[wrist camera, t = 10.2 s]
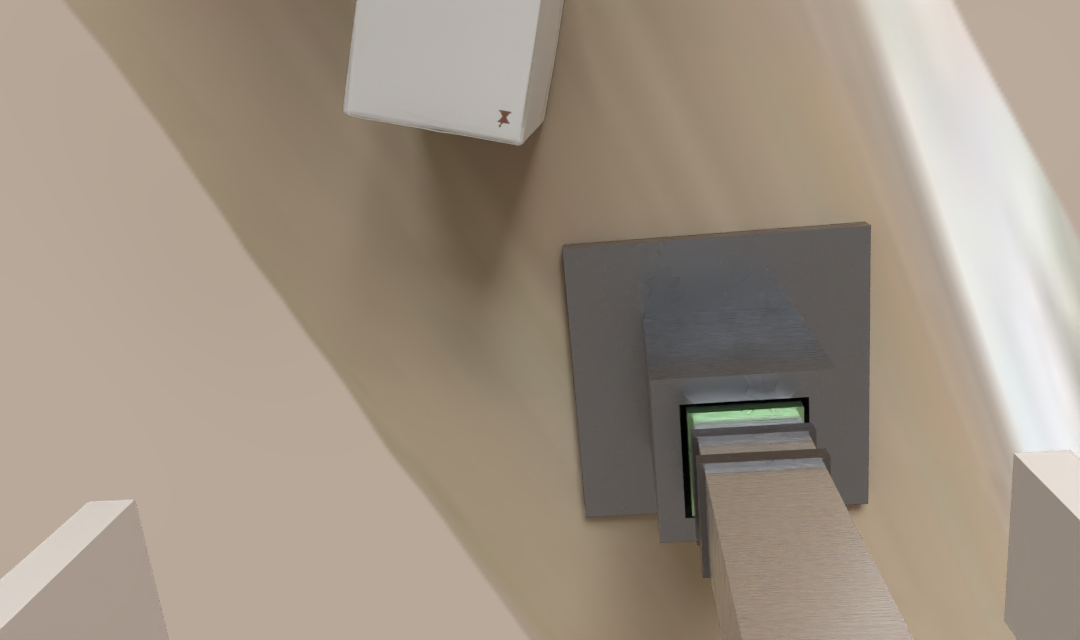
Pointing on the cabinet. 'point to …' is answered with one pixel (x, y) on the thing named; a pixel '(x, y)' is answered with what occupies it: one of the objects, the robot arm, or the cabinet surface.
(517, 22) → the supplement box
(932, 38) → the cabinet surface
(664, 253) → the stand base
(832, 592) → the column
